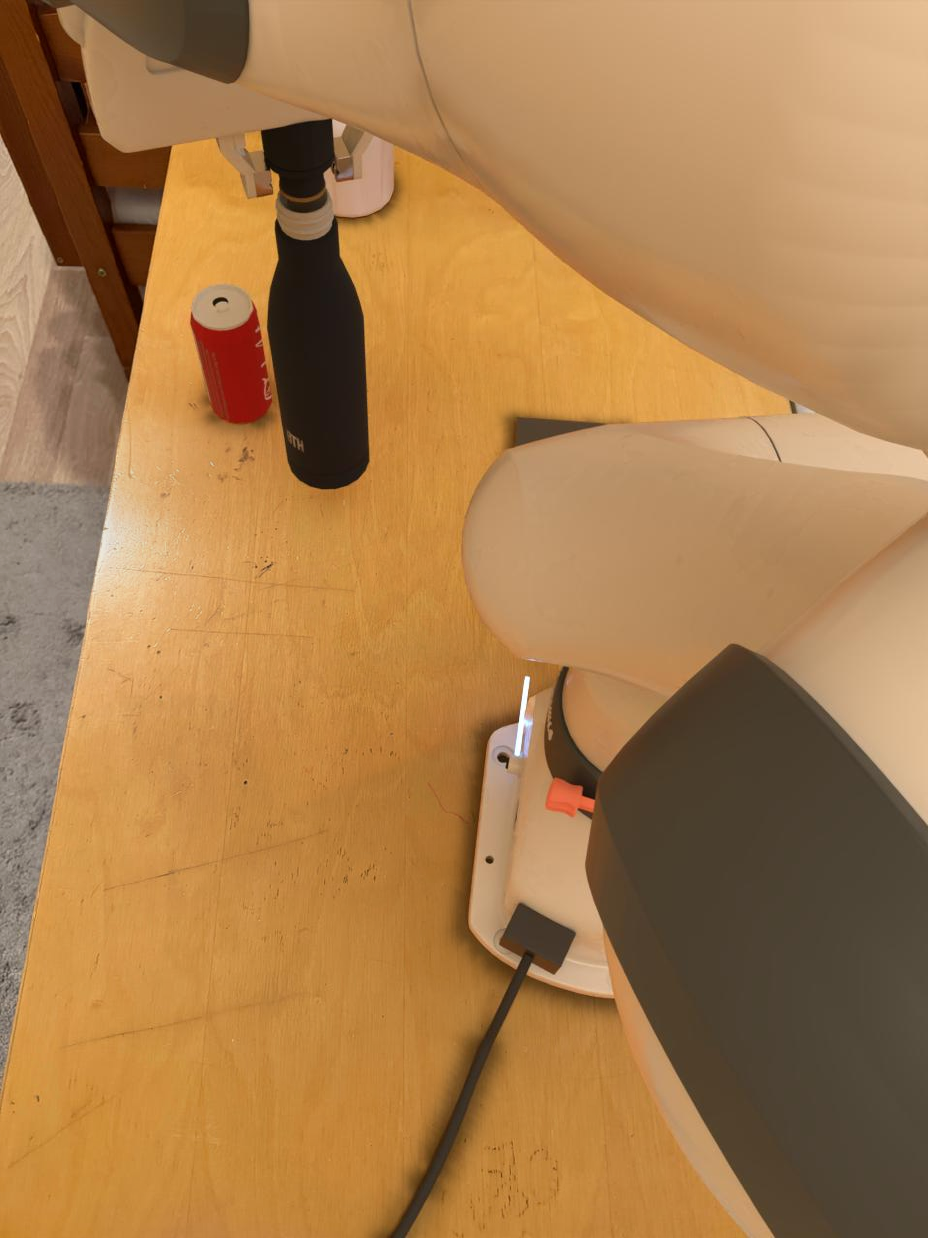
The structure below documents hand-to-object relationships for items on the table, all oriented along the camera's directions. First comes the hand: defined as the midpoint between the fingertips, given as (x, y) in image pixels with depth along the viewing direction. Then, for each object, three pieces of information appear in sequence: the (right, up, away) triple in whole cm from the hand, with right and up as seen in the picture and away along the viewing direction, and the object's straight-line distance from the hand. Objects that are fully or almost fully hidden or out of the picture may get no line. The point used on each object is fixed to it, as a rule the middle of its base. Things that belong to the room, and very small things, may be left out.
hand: (302, 181), depth 57 cm
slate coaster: (+19, -12, +32) cm, 39 cm away
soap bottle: (-3, +20, +48) cm, 52 cm away
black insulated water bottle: (-1, -12, +22) cm, 25 cm away
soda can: (-11, -5, +34) cm, 36 cm away
